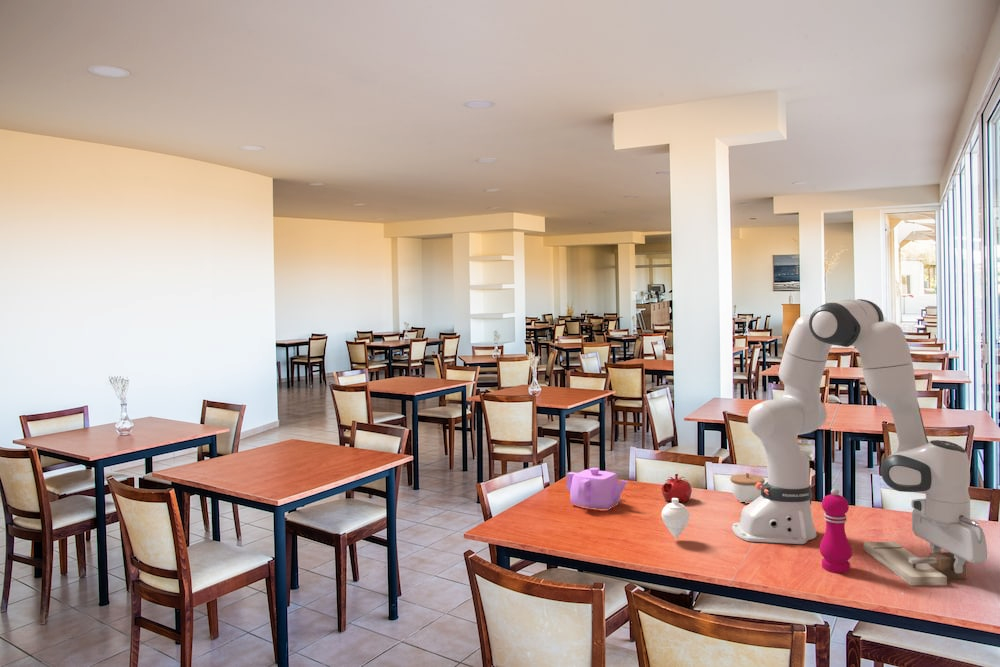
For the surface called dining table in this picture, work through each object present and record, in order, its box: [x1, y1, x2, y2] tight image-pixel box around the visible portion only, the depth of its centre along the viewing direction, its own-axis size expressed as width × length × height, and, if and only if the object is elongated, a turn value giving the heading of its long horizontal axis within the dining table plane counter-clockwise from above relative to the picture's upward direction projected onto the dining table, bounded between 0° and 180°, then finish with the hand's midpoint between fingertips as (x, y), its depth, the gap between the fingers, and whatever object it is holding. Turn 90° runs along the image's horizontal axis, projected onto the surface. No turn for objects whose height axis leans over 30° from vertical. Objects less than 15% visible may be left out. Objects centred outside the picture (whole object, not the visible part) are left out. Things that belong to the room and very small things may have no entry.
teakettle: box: [566, 467, 628, 510], centre depth 228 cm, size 17×17×12 cm
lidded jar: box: [729, 472, 766, 502], centre depth 226 cm, size 11×11×9 cm
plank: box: [863, 541, 948, 586], centre depth 168 cm, size 8×23×2 cm, turn 177°
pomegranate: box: [661, 473, 693, 503], centre depth 229 cm, size 10×10×9 cm
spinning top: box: [661, 498, 691, 541], centre depth 191 cm, size 8×8×12 cm
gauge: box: [909, 551, 967, 581], centre depth 161 cm, size 12×4×5 cm, turn 90°
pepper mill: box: [819, 488, 853, 574], centre depth 168 cm, size 7×7×20 cm
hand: (948, 567), depth 161 cm, fingers closed on gauge, 4 cm apart
